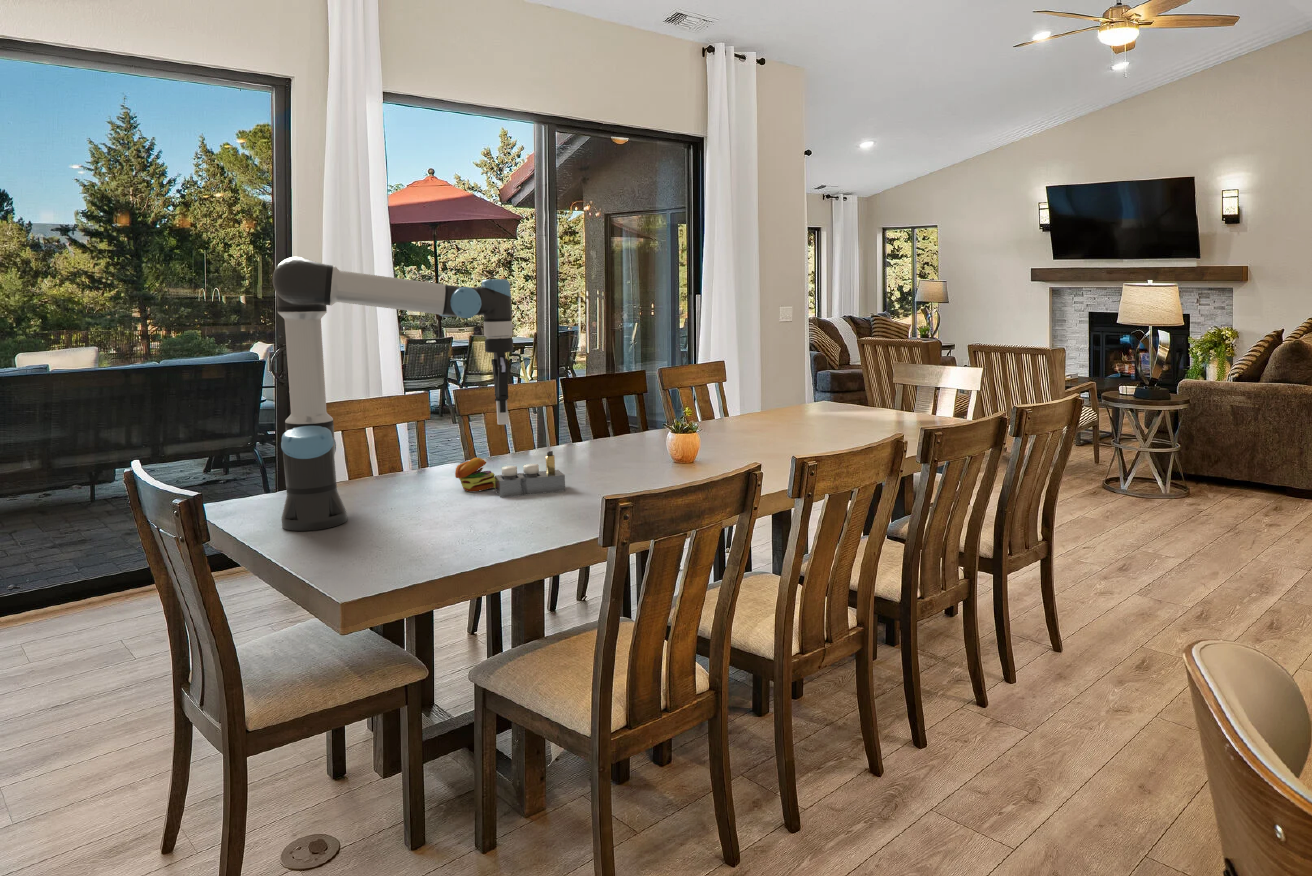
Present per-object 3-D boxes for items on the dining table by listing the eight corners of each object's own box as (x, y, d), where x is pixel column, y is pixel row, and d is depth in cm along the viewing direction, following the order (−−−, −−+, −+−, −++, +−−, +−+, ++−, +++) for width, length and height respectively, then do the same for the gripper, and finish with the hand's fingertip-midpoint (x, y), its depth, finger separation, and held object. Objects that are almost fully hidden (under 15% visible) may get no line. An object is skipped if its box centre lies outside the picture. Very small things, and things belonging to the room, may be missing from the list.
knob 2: (526, 491, 253) (524, 467, 252) (523, 488, 257) (521, 464, 256) (541, 490, 254) (539, 466, 253) (538, 487, 258) (536, 463, 257)
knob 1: (504, 493, 251) (502, 469, 250) (501, 490, 255) (500, 466, 254) (519, 492, 252) (518, 468, 251) (516, 489, 256) (515, 465, 255)
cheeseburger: (495, 491, 255) (484, 457, 254) (458, 501, 256) (447, 468, 254) (501, 483, 265) (491, 450, 264) (466, 493, 266) (455, 460, 264)
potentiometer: (547, 474, 255) (546, 452, 254) (545, 472, 257) (544, 451, 256) (556, 473, 256) (555, 451, 255) (554, 472, 258) (553, 450, 257)
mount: (500, 497, 249) (499, 481, 248) (495, 491, 256) (494, 475, 256) (565, 490, 255) (564, 474, 254) (559, 485, 262) (558, 469, 261)
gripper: (516, 338, 242) (520, 426, 246) (508, 335, 255) (512, 420, 258) (488, 339, 240) (492, 428, 244) (481, 336, 252) (485, 421, 256)
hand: (502, 423), depth 251 cm, fingers closed
